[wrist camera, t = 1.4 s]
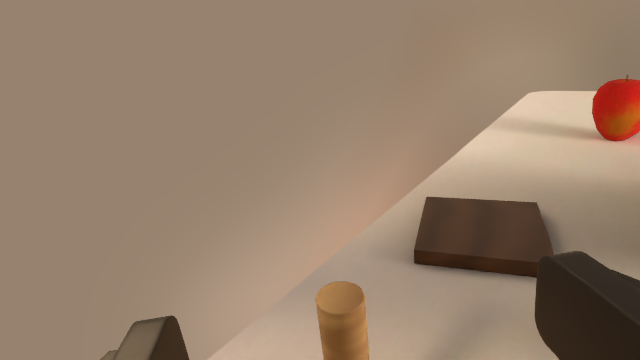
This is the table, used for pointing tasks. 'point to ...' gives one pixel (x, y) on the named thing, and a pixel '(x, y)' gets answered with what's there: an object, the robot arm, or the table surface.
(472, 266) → the board
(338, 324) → the wooden peg stand
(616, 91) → the apple
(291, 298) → the table surface
